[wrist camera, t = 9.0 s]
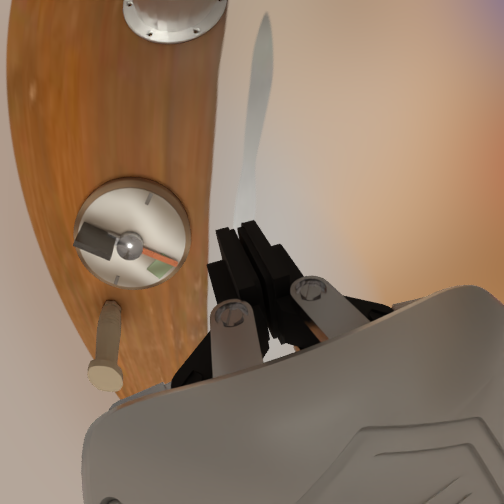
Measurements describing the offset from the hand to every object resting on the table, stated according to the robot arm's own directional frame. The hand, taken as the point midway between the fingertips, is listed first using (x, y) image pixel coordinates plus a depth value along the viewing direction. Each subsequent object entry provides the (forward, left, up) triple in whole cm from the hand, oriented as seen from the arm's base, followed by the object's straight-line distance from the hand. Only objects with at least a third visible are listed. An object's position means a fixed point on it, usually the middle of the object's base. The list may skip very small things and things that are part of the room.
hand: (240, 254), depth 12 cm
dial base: (+6, -14, -27) cm, 31 cm away
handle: (+14, -26, -27) cm, 40 cm away
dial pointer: (+6, -14, -25) cm, 29 cm away
